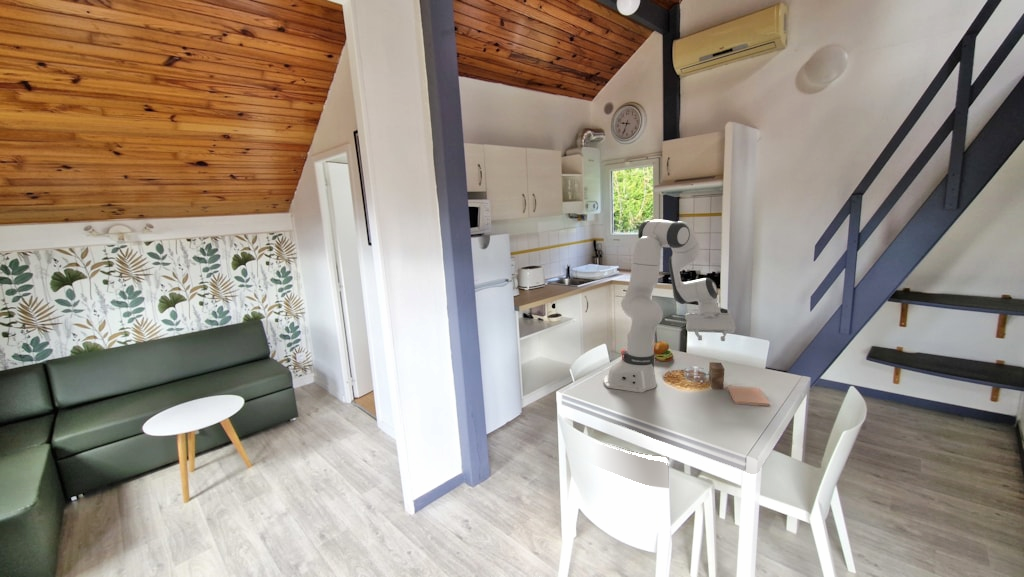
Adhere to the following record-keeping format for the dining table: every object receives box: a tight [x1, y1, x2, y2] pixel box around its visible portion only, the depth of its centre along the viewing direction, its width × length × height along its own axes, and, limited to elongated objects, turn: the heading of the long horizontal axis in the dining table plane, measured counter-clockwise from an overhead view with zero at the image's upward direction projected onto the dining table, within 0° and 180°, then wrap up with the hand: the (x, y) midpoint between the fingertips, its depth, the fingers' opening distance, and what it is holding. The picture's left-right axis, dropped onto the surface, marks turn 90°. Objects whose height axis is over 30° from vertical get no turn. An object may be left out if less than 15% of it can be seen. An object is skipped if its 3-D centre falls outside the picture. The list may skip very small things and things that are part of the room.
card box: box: [708, 361, 725, 390], centre depth 182 cm, size 4×7×9 cm, turn 165°
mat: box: [726, 385, 771, 407], centre depth 172 cm, size 12×14×1 cm
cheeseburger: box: [654, 341, 675, 363], centre depth 214 cm, size 10×11×10 cm
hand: (711, 340), depth 194 cm, fingers open, 8 cm apart
